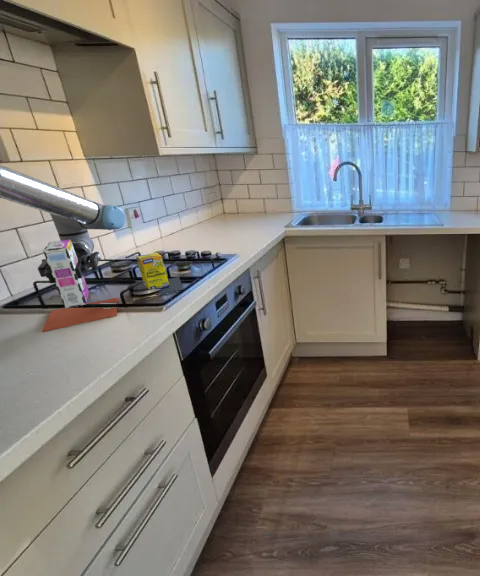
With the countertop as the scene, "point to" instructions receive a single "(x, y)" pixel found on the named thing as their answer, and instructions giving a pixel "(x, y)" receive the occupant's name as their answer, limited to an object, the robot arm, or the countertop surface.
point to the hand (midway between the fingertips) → (64, 275)
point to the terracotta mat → (78, 315)
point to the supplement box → (153, 271)
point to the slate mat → (172, 286)
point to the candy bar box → (66, 273)
